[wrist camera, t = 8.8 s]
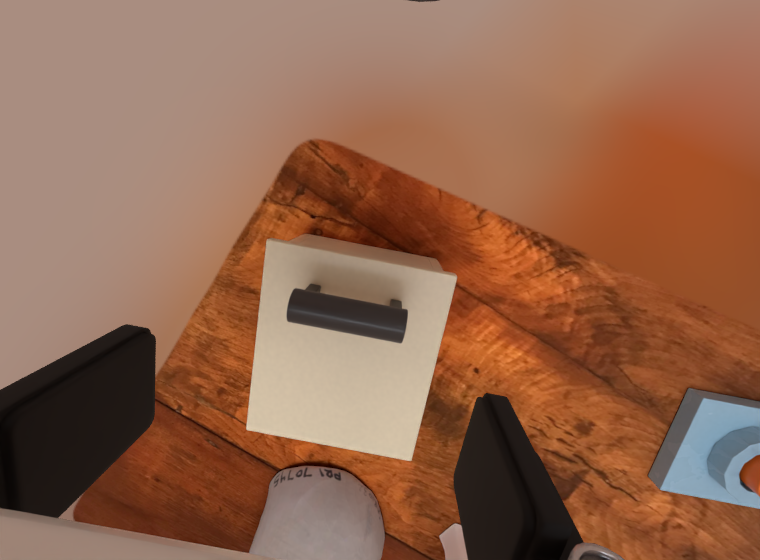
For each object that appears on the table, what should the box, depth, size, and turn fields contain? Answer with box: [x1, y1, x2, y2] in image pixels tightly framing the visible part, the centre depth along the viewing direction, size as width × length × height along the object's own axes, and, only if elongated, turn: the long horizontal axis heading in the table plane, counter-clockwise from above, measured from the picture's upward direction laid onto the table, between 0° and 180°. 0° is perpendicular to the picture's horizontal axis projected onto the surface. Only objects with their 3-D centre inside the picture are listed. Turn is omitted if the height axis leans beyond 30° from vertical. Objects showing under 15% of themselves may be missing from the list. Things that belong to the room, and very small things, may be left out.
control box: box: [648, 388, 760, 509], centre depth 32 cm, size 10×12×4 cm
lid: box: [246, 238, 457, 461], centre depth 21 cm, size 13×12×5 cm
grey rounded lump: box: [249, 466, 385, 560], centre depth 35 cm, size 15×14×15 cm
